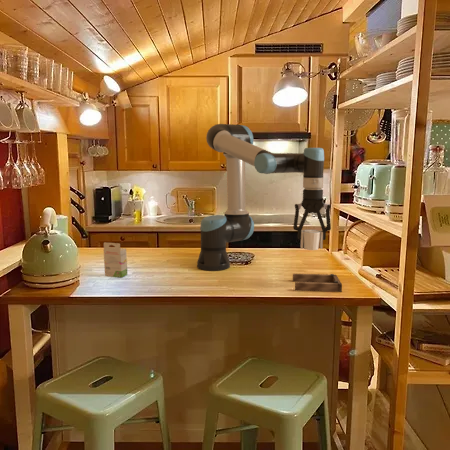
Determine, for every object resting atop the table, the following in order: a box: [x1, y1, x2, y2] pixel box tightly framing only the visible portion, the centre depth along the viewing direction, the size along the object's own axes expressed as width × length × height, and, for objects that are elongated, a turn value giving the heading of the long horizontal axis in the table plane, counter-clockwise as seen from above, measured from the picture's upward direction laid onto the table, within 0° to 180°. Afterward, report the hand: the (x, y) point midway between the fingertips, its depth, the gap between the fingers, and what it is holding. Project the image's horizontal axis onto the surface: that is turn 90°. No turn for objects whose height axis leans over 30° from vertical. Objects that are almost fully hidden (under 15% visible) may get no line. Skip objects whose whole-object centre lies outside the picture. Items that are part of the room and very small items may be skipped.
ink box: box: [103, 242, 128, 278], centre depth 181 cm, size 9×5×15 cm, turn 71°
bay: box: [292, 273, 343, 293], centre depth 168 cm, size 18×13×4 cm
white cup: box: [302, 229, 322, 251], centre depth 165 cm, size 7×7×7 cm
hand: (311, 247), depth 166 cm, fingers closed on white cup, 7 cm apart
